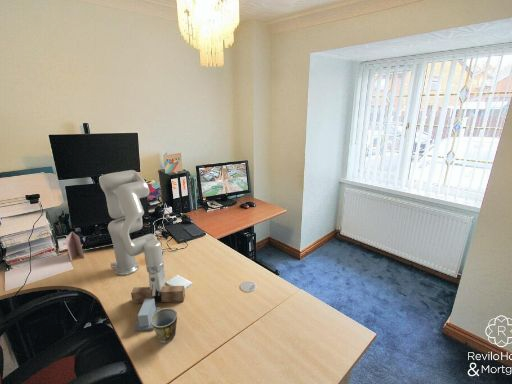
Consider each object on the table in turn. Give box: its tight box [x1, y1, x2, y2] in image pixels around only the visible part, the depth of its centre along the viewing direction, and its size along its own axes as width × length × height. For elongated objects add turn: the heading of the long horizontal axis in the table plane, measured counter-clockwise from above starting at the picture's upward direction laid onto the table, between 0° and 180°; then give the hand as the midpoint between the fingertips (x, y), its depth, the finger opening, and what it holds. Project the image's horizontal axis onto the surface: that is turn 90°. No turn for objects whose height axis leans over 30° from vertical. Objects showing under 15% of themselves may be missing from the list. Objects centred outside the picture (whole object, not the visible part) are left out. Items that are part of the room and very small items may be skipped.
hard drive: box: [165, 274, 194, 291], centre depth 141 cm, size 2×8×12 cm
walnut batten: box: [130, 285, 186, 304], centre depth 128 cm, size 24×4×6 cm, turn 94°
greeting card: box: [65, 231, 85, 262], centre depth 164 cm, size 11×7×15 cm, turn 17°
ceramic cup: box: [151, 307, 178, 344], centre depth 106 cm, size 13×10×10 cm
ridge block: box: [133, 299, 162, 332], centre depth 116 cm, size 8×12×7 cm, turn 4°
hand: (159, 297), depth 129 cm, fingers closed on walnut batten, 4 cm apart
